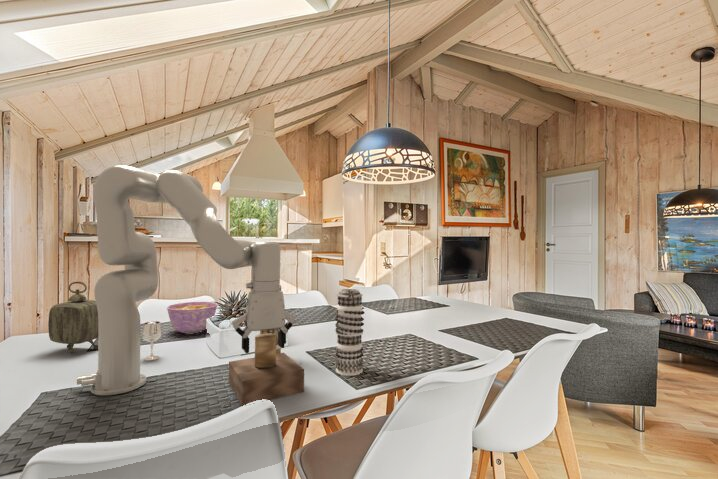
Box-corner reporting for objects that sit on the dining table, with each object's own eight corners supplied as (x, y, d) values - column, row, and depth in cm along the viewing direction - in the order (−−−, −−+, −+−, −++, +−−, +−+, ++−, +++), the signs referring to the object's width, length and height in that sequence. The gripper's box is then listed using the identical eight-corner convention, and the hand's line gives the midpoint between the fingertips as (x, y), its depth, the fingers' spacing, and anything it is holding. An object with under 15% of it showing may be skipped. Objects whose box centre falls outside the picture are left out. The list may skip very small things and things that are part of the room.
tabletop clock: (105, 348, 129) (105, 280, 130) (83, 356, 120) (84, 283, 120) (69, 347, 131) (69, 280, 131) (45, 354, 122) (46, 282, 122)
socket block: (242, 406, 85) (242, 381, 85) (228, 383, 98) (228, 361, 99) (304, 391, 93) (304, 369, 93) (283, 372, 107) (283, 352, 107)
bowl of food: (208, 324, 167) (209, 300, 168) (223, 332, 152) (223, 306, 152) (161, 331, 155) (162, 304, 155) (172, 341, 139) (172, 311, 139)
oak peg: (257, 393, 92) (258, 340, 92) (252, 385, 97) (252, 335, 97) (278, 388, 95) (279, 337, 95) (272, 381, 100) (272, 332, 100)
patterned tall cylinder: (369, 368, 110) (370, 289, 110) (354, 378, 102) (354, 292, 102) (345, 363, 115) (345, 287, 115) (328, 372, 107) (329, 290, 107)
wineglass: (139, 358, 119) (140, 322, 119) (158, 354, 123) (159, 320, 123) (144, 362, 115) (144, 325, 115) (163, 358, 119) (164, 322, 119)
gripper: (236, 290, 88) (234, 358, 88) (300, 286, 97) (299, 348, 97) (229, 286, 95) (228, 350, 95) (290, 283, 104) (289, 341, 104)
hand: (264, 349), depth 96 cm, fingers open, 9 cm apart
